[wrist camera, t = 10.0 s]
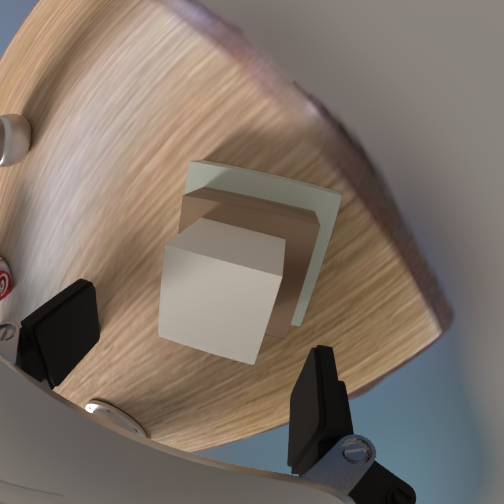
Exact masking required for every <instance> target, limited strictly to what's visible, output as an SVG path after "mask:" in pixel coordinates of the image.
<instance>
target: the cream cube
mask: <svg viewBox="0 0 504 504" xmlns="http://www.w3.org/2000/svg"><path fill="white" fill-rule="evenodd" d="M285 242H286V239H282V238H279V237H275V236H271V235H267V234H264V233H260V232H256V231H252V230H248V229H244V228H240V227H237V226H233V225H229V224H225V223H221V222H217V221H213V220H209V219H205V218H200V219H198V220H197V221H196V222H194V223H193V224H192V225H190V226H189V227H188V228H186V229H185V230H183V231H182V232H181V233H179V234H178V235H177V236H175V237H174V238H173V239H172V240H170V241H169V242H168V243H166V244H165V247H164V256H163V266H162V278H161V290H160V305H159V324H158V336H160V337H163V338H165V339H168V340H171V341H174V342H177V343H180V344H183V345H186V346H189V347H192V348H195V349H198V350H201V351H205V352H208V353H211V354H215V355H218V356H221V357H225V358H228V359H232V360H236V361H239V362H243V363H247V364H251V365H254V364H255V361H256V358H257V355H258V352H259V349H260V346H261V343H262V340H263V337H264V334H265V330H266V327H267V324H268V321H269V318H270V315H271V312H272V309H273V306H274V302H275V299H276V296H277V293H278V290H279V286H280V283H281V280H282V276H283V265H284V254H285Z"/></svg>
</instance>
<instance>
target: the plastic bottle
mask: <svg viewBox="0 0 504 504" xmlns="http://www.w3.org/2000/svg"><path fill="white" fill-rule="evenodd" d="M30 143H31V127H30V124H29V122H28V121H27V119H26V118H25V117H24V116H22V115H18V114H7V115H2V116H0V167H10V166H12V165H15V164H17V163H19V162H20V161H21V160H22V159H23V158H24V157H25V156H26V154H27V152H28V150H29V147H30Z"/></svg>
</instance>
